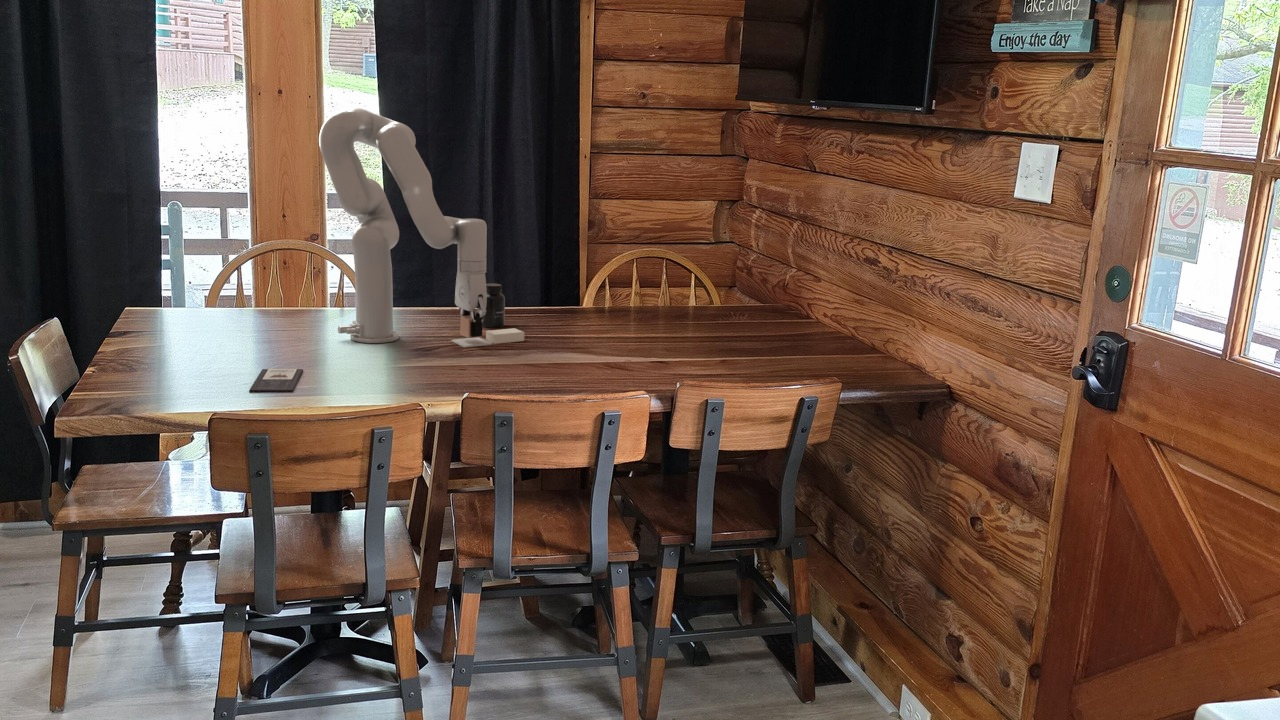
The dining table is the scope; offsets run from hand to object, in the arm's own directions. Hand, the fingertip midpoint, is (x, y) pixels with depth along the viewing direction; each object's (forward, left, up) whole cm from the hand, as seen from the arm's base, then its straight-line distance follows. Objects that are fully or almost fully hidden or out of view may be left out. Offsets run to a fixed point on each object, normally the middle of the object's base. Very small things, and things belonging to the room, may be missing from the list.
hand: (471, 333), depth 280 cm
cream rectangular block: (+10, -1, -3) cm, 10 cm away
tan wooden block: (0, 0, -1) cm, 1 cm away
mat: (0, 0, -3) cm, 3 cm away
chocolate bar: (-56, -16, -3) cm, 58 cm away
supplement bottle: (+15, +17, -3) cm, 23 cm away
